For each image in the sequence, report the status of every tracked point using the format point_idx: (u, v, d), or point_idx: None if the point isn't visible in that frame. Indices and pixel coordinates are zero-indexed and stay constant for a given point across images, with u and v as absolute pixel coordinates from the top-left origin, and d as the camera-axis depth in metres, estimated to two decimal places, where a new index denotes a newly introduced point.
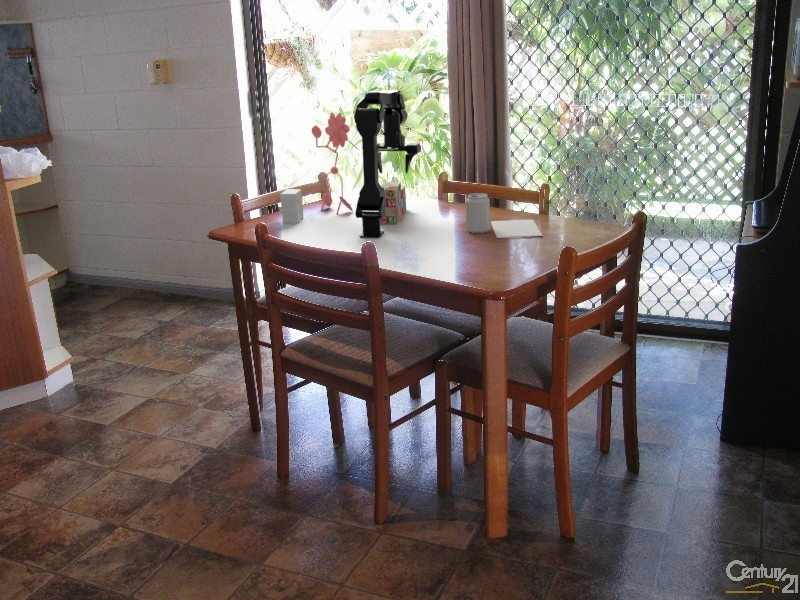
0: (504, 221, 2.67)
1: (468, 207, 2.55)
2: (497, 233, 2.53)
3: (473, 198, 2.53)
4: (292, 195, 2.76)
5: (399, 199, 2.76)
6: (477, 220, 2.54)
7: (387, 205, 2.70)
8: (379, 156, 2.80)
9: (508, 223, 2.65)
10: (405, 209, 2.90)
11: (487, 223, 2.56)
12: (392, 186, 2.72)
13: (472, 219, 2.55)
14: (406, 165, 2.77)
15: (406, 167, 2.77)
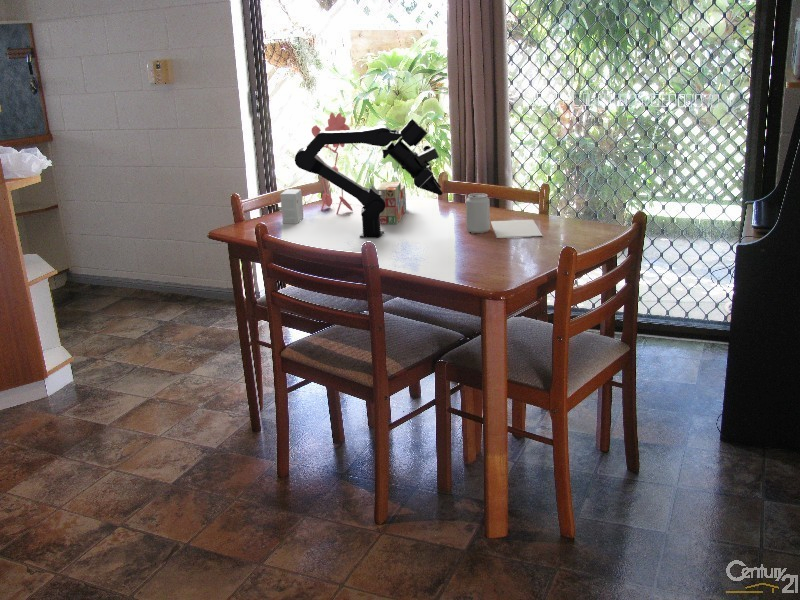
0: (504, 221, 2.67)
1: (468, 207, 2.55)
2: (497, 233, 2.53)
3: (473, 198, 2.53)
4: (292, 195, 2.76)
5: (399, 199, 2.76)
6: (477, 220, 2.54)
7: (387, 205, 2.71)
8: None
9: (508, 223, 2.65)
10: (405, 209, 2.90)
11: (487, 223, 2.56)
12: (392, 186, 2.72)
13: (472, 219, 2.55)
14: (431, 191, 2.50)
15: (433, 192, 2.50)
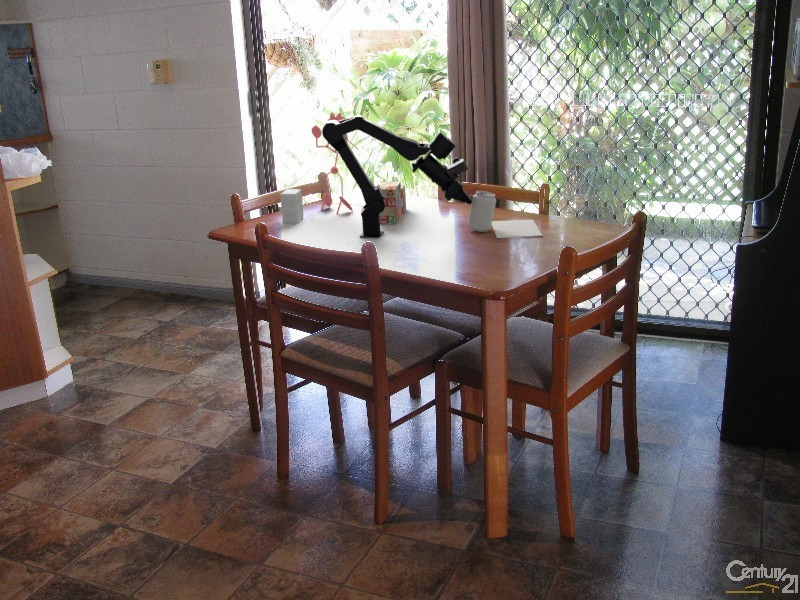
0: (504, 221, 2.67)
1: (474, 203, 2.54)
2: (497, 233, 2.53)
3: (481, 195, 2.52)
4: (292, 195, 2.76)
5: (399, 199, 2.77)
6: (480, 218, 2.54)
7: (387, 204, 2.71)
8: None
9: (508, 223, 2.65)
10: (405, 209, 2.91)
11: (489, 223, 2.56)
12: (392, 186, 2.73)
13: (476, 216, 2.54)
14: (460, 200, 2.55)
15: None
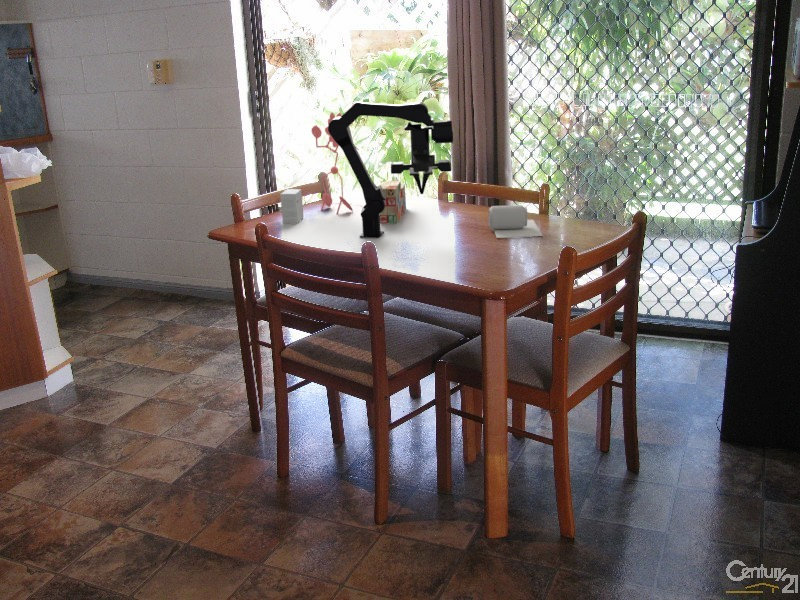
0: None
1: (516, 209, 2.54)
2: (497, 233, 2.53)
3: (525, 214, 2.54)
4: (292, 195, 2.76)
5: (399, 198, 2.78)
6: (504, 218, 2.54)
7: (387, 204, 2.72)
8: None
9: None
10: (405, 208, 2.92)
11: (499, 228, 2.56)
12: (392, 185, 2.74)
13: (504, 214, 2.54)
14: None
15: None
